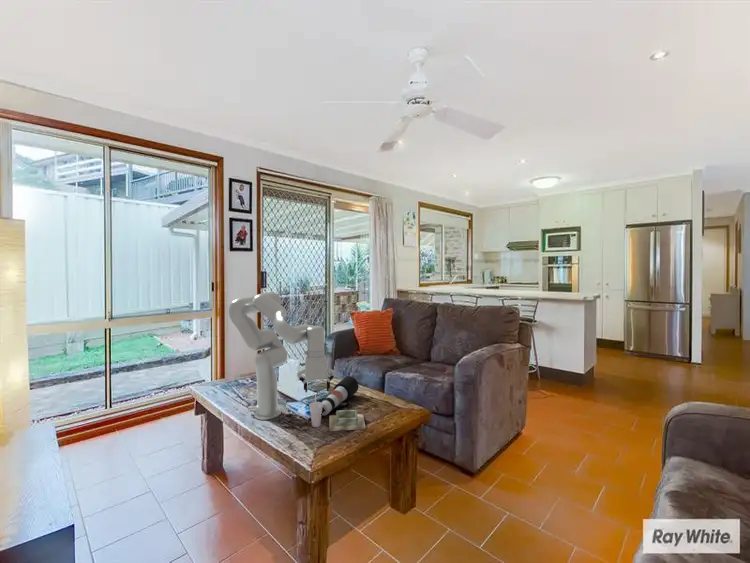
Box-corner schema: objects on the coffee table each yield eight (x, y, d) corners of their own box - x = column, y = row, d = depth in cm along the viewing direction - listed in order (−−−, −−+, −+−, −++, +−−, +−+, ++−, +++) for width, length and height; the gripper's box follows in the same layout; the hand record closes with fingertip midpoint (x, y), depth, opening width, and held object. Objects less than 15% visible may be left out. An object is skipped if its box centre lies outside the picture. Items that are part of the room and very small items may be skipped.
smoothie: (320, 420, 167) (320, 391, 166) (325, 426, 161) (325, 396, 161) (307, 423, 164) (307, 393, 163) (311, 429, 158) (311, 398, 157)
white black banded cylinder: (313, 427, 170) (304, 408, 170) (347, 395, 200) (339, 379, 201) (329, 422, 165) (319, 402, 166) (361, 390, 196) (353, 373, 197)
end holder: (329, 430, 157) (329, 421, 157) (329, 418, 170) (329, 409, 170) (365, 428, 159) (365, 419, 159) (362, 416, 172) (362, 407, 172)
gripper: (295, 356, 156) (296, 394, 157) (335, 354, 158) (336, 392, 159) (297, 352, 163) (298, 389, 164) (335, 350, 165) (336, 386, 166)
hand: (317, 390), depth 161 cm, fingers open, 9 cm apart
